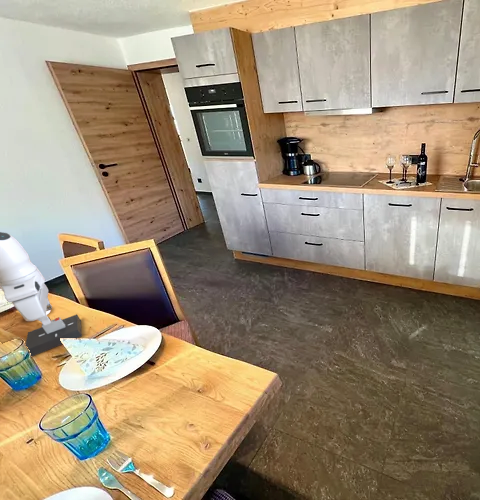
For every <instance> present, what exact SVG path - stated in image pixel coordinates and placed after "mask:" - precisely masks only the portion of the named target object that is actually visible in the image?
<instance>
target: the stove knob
mask: <svg viewBox="0 0 480 500" xmlns="http://www.w3.org/2000/svg"><path fill="white" fill-rule="evenodd" d="M62 320H63V319H62V318H61V317H55V318H54V319H51V323H50V324H47V325H43V324H42V323H41V327H43V329H44V330H45V332H46V333H47V334H49V333H51V332H54V331H57V330H59V329H62V328H65V324H64V322H63V321H62Z"/></svg>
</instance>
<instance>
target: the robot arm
mask: <svg viewBox="0 0 480 500" xmlns="http://www.w3.org/2000/svg"><path fill="white" fill-rule="evenodd" d="M45 282H46V278H45V277H44V275H43V274H42V272H41V271H40V269H39V268H38V266H37V265H35V264H34V263H33V262H32V261H31V258H30V255H29V254H28V252H27V250H26V249H25V247H23V245H22V244H21V243H20V242H19V241H18V239H17V238H15V237H14V236H13V235H12V234H10V233H8V232H2V231H0V286H1V288H2V289H3V290H2V289H1V288H0V289H1V290H2V292H3V291H4V292H3V294H4V295H3V296H4V299H5V300H6V301H7V303H12V302H13V303H12V305H13V304H14V305H13V306H14V308H15V309H16V308H17V309H18V310H17V309H16V310H17V311H18V313H19V312H20V313H21V314H22V315H23V316H24V317H25V318H26V319H27V320H29V321H28V322H34V321H38V322H40V323H41V325H42V324H43V325H47V324H50V323H51V320H52V319H51V318H50V317H49V316H48V314H47V315H46V311H49V310H52V309H53V305H52V304H51V302H50V299H49V288H48V287H47V285H46V284H45ZM20 313H19V314H20ZM21 314H20V315H21ZM22 315H21V316H22ZM23 316H22V317H23Z"/></svg>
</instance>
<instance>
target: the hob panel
mask: <svg viewBox="0 0 480 500" xmlns="http://www.w3.org/2000/svg"><path fill="white" fill-rule="evenodd" d="M62 321H63V322H64V324H65V328H62V329H59V330H57V331H54V332H51V333H49V334H47V333H46V332H45V330H44V329H43V327H42V326H41V327H38V328H36V329H33V330H31V331H28V332H27V335H26V341H25V345H26V346H27V347H28V349H29V350H30V353H31V356H32V357H34V356H36V355H39V354H41V353H45V352H47V351H49V350H52V349H54V348H57V347H59V346H62V345H63V344H62V343H61V341H60V338H76V339H78V338H81V337H83V333H82V330H83V329H82V320H81V318H80V316H79V315H78V314H74V315H71V316H69V317H66V318H63V319H62Z"/></svg>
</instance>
